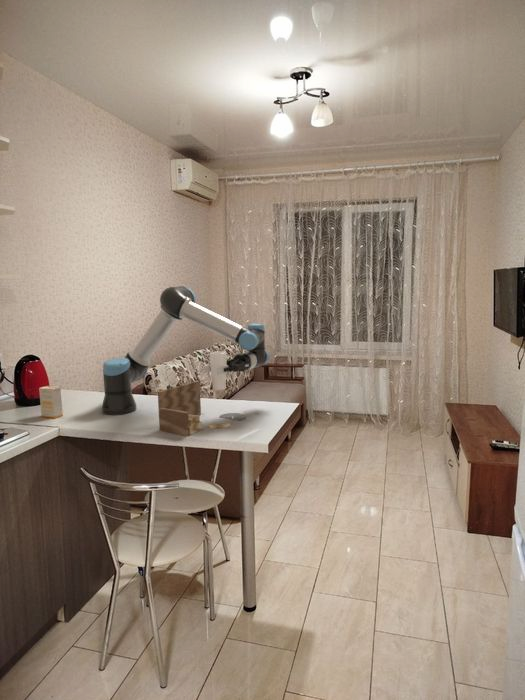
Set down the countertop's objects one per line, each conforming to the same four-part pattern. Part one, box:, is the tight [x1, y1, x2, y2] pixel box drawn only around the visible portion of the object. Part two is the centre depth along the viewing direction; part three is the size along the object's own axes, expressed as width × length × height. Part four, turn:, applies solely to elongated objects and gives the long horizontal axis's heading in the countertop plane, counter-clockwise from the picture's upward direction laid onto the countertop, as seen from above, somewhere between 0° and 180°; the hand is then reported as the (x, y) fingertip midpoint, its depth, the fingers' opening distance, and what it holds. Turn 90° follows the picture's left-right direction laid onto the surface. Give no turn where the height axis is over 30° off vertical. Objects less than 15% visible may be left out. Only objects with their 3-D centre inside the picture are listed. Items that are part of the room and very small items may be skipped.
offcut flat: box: [208, 423, 231, 430], centre depth 186 cm, size 8×4×2 cm, turn 102°
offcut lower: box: [189, 421, 203, 436], centre depth 181 cm, size 7×6×3 cm
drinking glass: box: [209, 350, 228, 391], centre depth 192 cm, size 7×7×15 cm
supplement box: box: [38, 385, 64, 419], centre depth 208 cm, size 8×5×13 cm, turn 65°
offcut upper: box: [188, 414, 201, 426], centre depth 180 cm, size 6×5×2 cm
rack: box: [157, 380, 204, 437], centre depth 188 cm, size 24×15×16 cm, turn 148°
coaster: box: [218, 412, 246, 422], centre depth 202 cm, size 11×11×1 cm
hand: (210, 370), depth 188 cm, fingers closed on drinking glass, 6 cm apart
